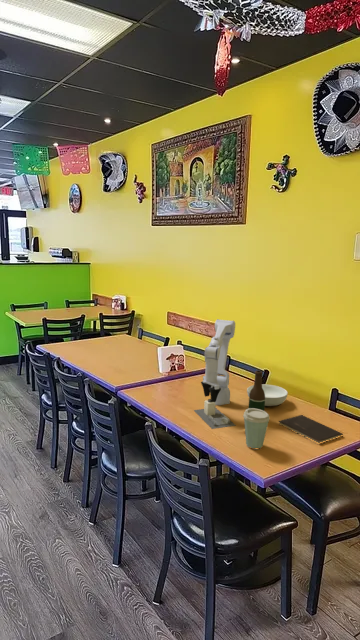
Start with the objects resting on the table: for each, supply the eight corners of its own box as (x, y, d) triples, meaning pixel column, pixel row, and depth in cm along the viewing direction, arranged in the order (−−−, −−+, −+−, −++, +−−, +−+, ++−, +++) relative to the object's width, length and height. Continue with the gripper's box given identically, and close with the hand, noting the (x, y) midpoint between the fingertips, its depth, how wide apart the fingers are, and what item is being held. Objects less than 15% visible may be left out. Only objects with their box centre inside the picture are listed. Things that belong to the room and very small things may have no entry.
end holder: (222, 417, 196) (222, 413, 196) (229, 424, 190) (229, 419, 189) (207, 419, 194) (208, 415, 193) (214, 425, 187) (214, 421, 187)
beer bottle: (251, 424, 193) (254, 374, 189) (244, 417, 200) (247, 369, 196) (266, 422, 195) (270, 373, 191) (259, 416, 202) (262, 368, 198)
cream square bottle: (211, 411, 203) (212, 397, 202) (215, 414, 200) (215, 400, 199) (204, 412, 202) (204, 398, 201) (207, 415, 198) (208, 401, 197)
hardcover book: (318, 446, 174) (318, 441, 174) (278, 425, 194) (278, 420, 193) (342, 438, 183) (343, 433, 183) (302, 419, 202) (302, 414, 202)
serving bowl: (264, 393, 234) (265, 381, 233) (294, 405, 218) (296, 392, 217) (238, 400, 222) (238, 388, 221) (267, 413, 206) (268, 400, 204)
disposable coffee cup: (264, 440, 177) (266, 406, 174) (270, 452, 166) (273, 417, 164) (239, 440, 177) (241, 406, 174) (244, 452, 166) (246, 417, 163)
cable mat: (215, 409, 209) (215, 407, 209) (236, 427, 188) (236, 425, 188) (193, 412, 205) (193, 410, 204) (211, 431, 184) (212, 428, 184)
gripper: (197, 367, 203) (196, 394, 205) (209, 376, 189) (208, 405, 192) (210, 366, 205) (209, 393, 207) (224, 375, 192) (222, 403, 194)
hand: (210, 398), depth 200 cm, fingers open, 7 cm apart
